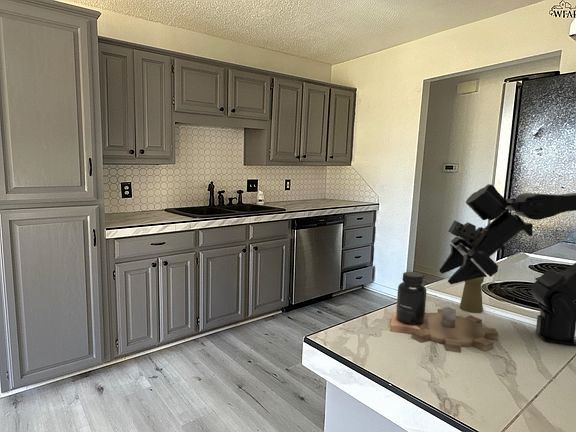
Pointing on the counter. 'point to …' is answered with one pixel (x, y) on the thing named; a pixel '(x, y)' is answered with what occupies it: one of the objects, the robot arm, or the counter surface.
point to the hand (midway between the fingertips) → (444, 277)
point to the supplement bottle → (411, 299)
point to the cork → (472, 296)
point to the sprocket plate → (449, 330)
